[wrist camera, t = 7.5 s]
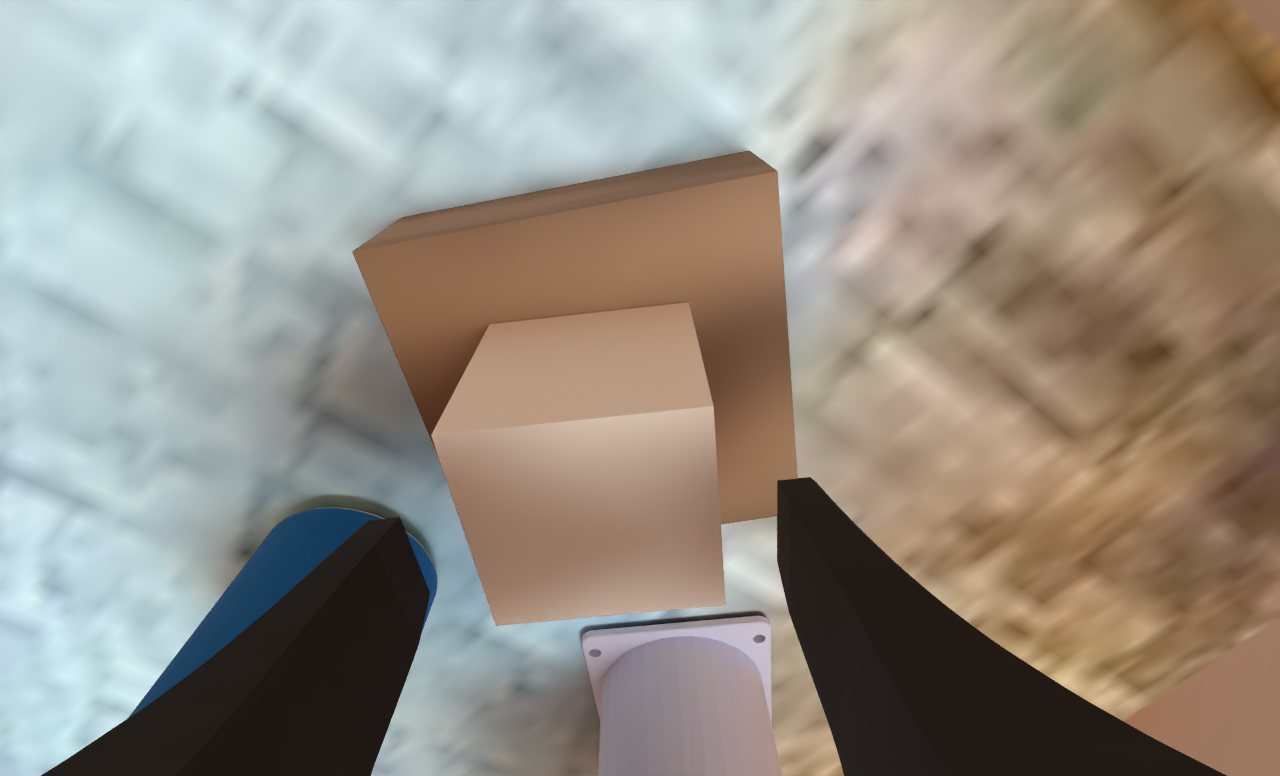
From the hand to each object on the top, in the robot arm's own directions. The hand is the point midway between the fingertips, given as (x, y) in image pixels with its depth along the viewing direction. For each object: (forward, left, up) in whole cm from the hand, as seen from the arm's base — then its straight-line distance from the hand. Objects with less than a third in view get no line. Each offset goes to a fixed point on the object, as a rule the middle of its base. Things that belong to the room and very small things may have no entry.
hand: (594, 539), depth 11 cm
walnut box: (0, 0, -9) cm, 9 cm away
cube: (0, 0, -5) cm, 5 cm away
